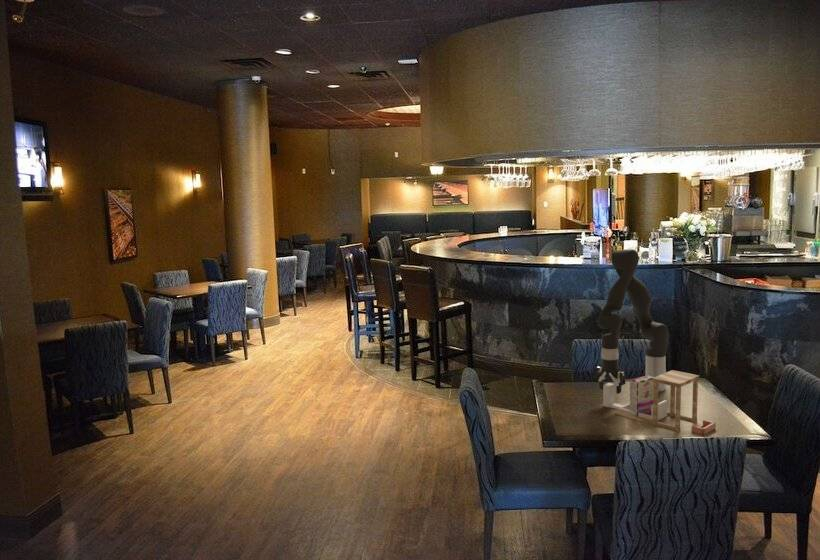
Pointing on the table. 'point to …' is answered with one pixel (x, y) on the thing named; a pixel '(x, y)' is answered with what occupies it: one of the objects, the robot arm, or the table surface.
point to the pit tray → (704, 428)
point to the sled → (609, 402)
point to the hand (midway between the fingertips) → (610, 391)
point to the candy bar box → (641, 395)
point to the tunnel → (671, 398)
